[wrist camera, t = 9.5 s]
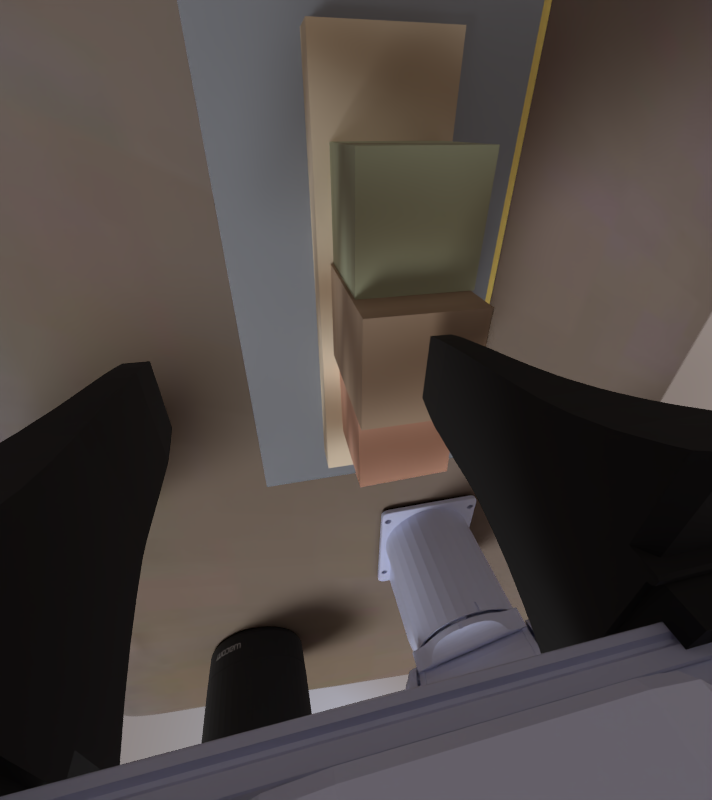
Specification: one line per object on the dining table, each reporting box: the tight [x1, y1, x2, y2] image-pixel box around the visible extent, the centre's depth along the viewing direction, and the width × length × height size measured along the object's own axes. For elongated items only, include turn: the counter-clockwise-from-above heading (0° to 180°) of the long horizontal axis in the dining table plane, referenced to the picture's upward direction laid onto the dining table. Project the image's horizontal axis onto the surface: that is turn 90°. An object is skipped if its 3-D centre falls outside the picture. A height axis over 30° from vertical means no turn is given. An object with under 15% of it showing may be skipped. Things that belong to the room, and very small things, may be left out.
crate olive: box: [329, 141, 500, 300], centre depth 13 cm, size 4×4×4 cm
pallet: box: [300, 16, 494, 468], centre depth 15 cm, size 18×5×7 cm, turn 0°
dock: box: [177, 0, 552, 487], centre depth 19 cm, size 22×13×2 cm, turn 0°
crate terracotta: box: [339, 370, 450, 487], centre depth 18 cm, size 4×4×4 cm
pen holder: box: [202, 627, 312, 743], centre depth 35 cm, size 9×9×10 cm
